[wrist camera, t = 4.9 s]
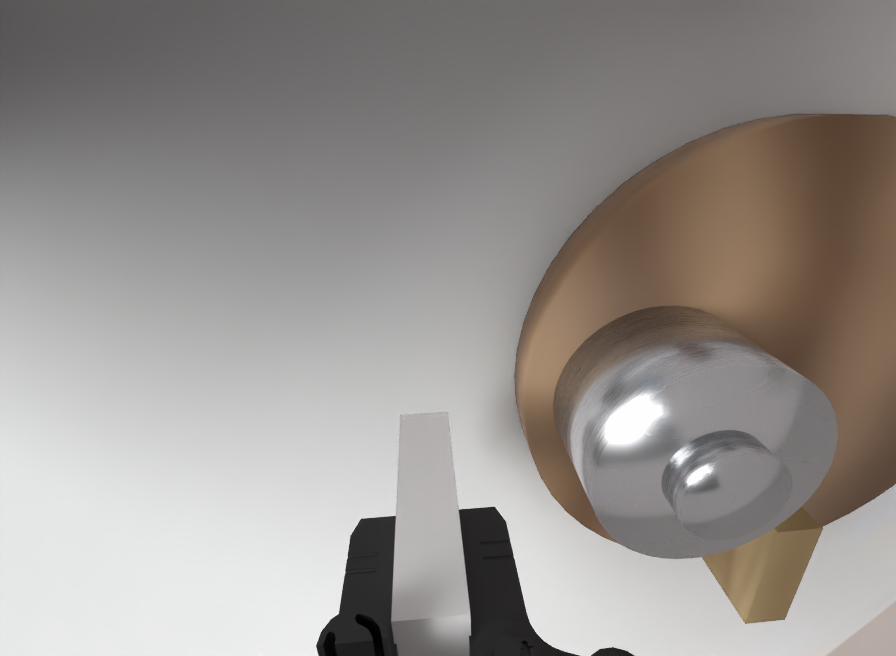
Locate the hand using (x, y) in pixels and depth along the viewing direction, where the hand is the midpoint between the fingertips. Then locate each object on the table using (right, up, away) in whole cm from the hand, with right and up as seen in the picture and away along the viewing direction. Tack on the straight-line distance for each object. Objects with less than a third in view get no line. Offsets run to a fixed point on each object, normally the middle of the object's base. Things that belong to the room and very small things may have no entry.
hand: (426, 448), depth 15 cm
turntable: (+12, +3, +4) cm, 13 cm away
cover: (+8, +1, +2) cm, 8 cm away
